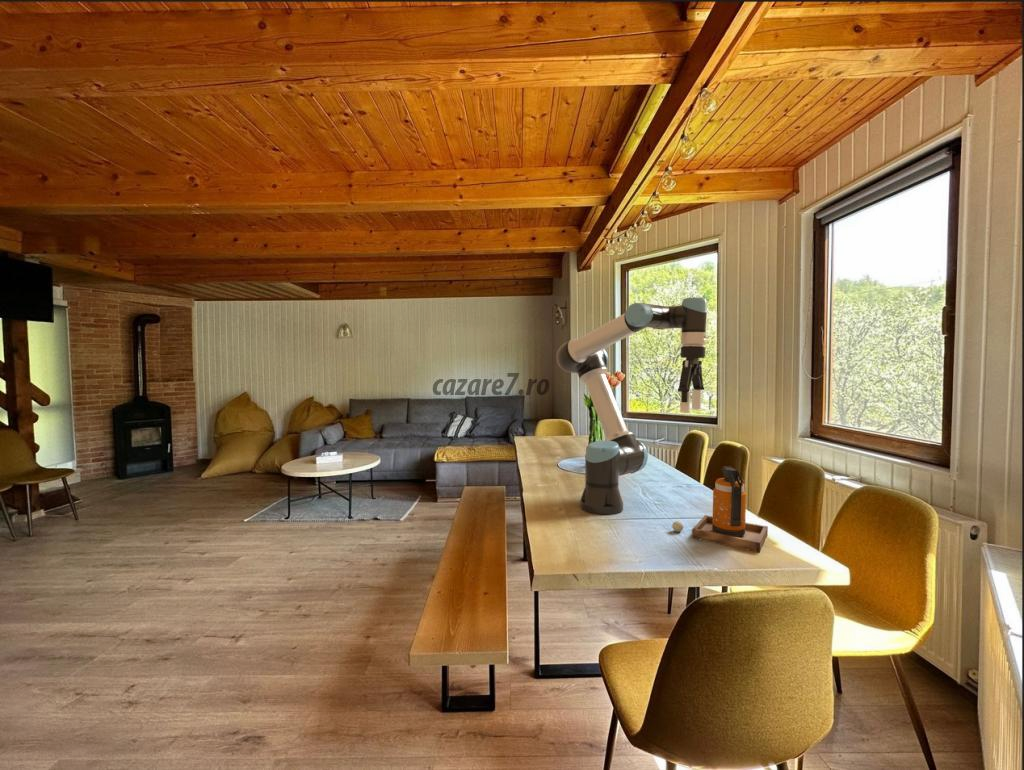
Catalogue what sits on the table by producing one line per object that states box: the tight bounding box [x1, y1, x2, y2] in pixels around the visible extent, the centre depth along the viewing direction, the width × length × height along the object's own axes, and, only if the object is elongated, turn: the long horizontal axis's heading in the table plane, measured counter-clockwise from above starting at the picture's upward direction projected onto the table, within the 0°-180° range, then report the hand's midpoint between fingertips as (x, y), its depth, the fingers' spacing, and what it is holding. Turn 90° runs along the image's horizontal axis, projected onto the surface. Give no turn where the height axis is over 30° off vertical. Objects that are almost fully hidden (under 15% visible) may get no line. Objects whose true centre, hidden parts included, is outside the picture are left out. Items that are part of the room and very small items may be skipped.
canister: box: [712, 466, 747, 537], centre depth 140 cm, size 9×11×20 cm
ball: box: [671, 520, 684, 533], centre depth 145 cm, size 3×3×3 cm
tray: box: [691, 514, 769, 553], centre depth 141 cm, size 18×16×3 cm
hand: (690, 410), depth 154 cm, fingers open, 13 cm apart
